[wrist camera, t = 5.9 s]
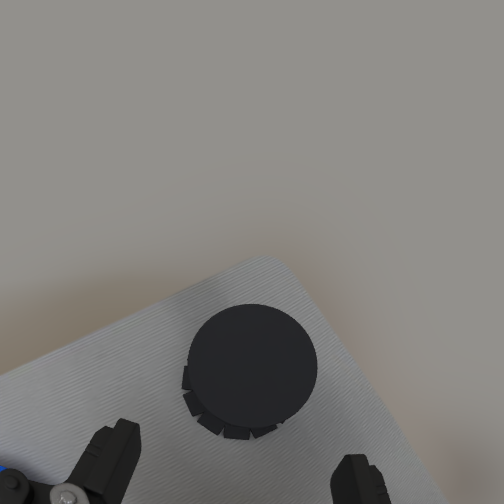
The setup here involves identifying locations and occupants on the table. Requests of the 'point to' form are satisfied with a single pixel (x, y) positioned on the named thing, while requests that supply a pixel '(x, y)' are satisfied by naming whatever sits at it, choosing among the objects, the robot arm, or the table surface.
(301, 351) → the black hat
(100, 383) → the table surface
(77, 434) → the table surface
